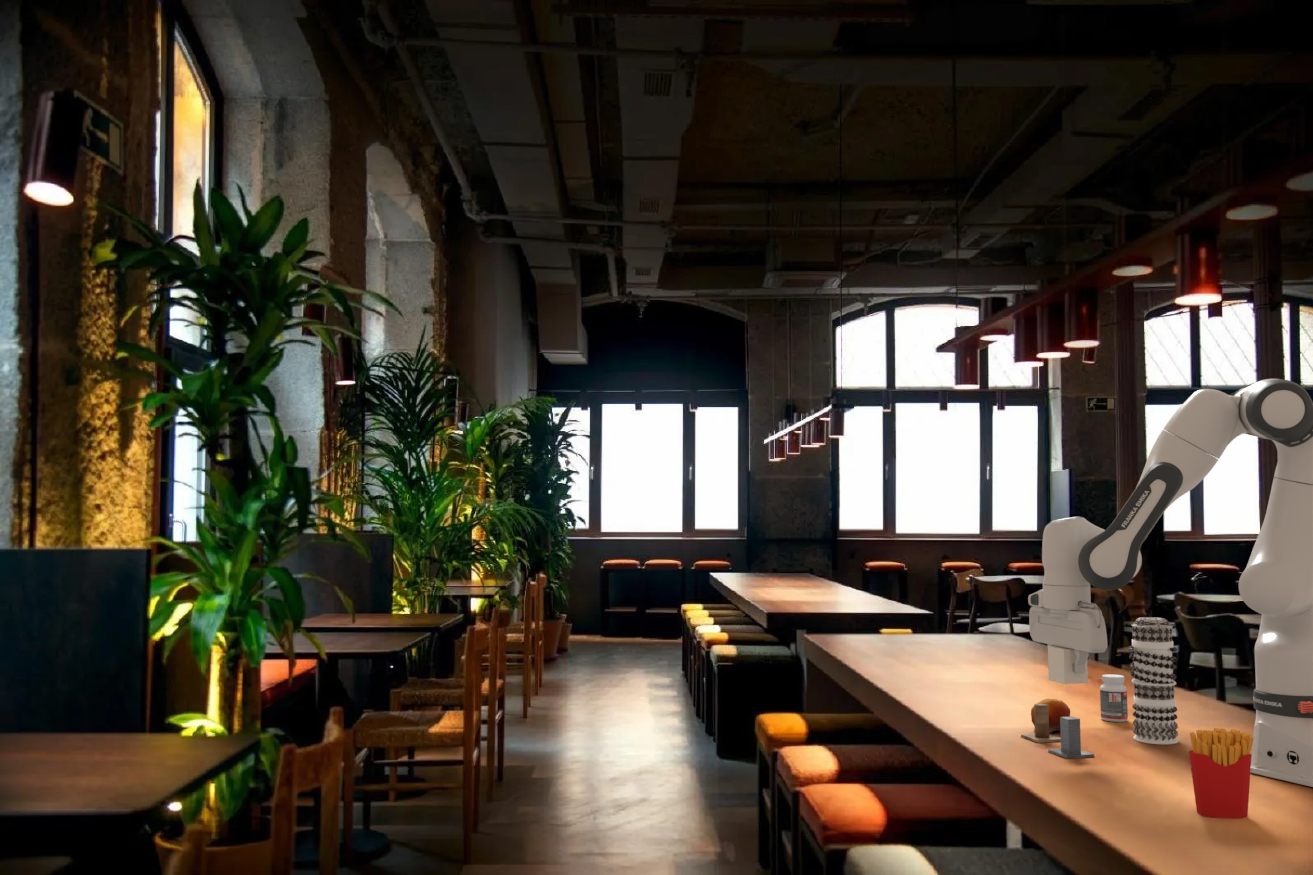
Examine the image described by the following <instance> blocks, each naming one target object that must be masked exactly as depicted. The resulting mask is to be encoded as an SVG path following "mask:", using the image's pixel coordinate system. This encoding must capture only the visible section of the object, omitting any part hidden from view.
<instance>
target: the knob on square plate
mask: <svg viewBox="0 0 1313 875" xmlns="http://www.w3.org/2000/svg"><path fill="white" fill-rule="evenodd" d="M1033 706H1034V719H1035V726H1034V733H1025V734H1024V733H1023V734H1021V735H1020V738H1022V737H1023V738H1022V739H1026V740H1029V741H1032V742H1034V743H1037V744H1040V743H1041V744H1042V743H1056V742H1060V743H1061V736H1060V737H1059V736H1056V735H1053V734H1051V733H1050V732H1049V711H1048V705H1046V704H1037V703H1034V704H1033Z"/></svg>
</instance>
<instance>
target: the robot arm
mask: <svg viewBox="0 0 1313 875" xmlns="http://www.w3.org/2000/svg"><path fill="white" fill-rule="evenodd" d="M1244 434H1246V435H1250V436H1253V437H1256V438H1259V439H1263V440H1271V441H1272V442H1273V443H1274V446H1275V448H1276V451H1277V463H1276V466H1275V470H1274V474H1273V480H1272V483H1271V489H1270V493H1269V499H1268V504H1267V508H1266V511H1265V512H1266V513H1265V515H1264V520H1263V522H1262V525H1261V527H1260V530H1259V533H1258V535H1257V537H1256V541H1255V543H1254V545H1253V547H1252V551H1251V554H1250V556H1249V559H1248V562H1247V564H1246V567H1245V569H1244V570H1243V571H1242V573H1241V574H1240V577H1239V580H1238V592H1239V595H1240V598H1241V599H1242V601H1243V603H1245V605H1246V606H1247V607H1248V608H1250V609H1251V610H1253V611H1254V612H1256V613H1258V614H1260V615H1261V617H1260V618H1261V619H1260V623H1259V624H1260V625H1259V630H1258V634H1257V639H1256V641H1255V644H1254V668H1255V669H1254V670H1255V675H1254V676H1255V688H1254V689H1253V696H1252V700H1253V708H1254V709H1255V712H1256V713H1255V720H1254V724H1253V731H1252V737H1253V738H1254V740H1253V743H1252V747H1251V752H1250V754H1252V756H1251V771H1250V774H1255V775H1260V776H1264V777H1268V778H1272V779H1277V780H1281V781H1286V782H1290V783H1294V784H1298V785H1302V786H1307V787H1312V788H1313V400H1312V398H1311V396H1310V395H1309V393H1308V392H1307V390H1305V388H1303V387H1302V386H1301V385H1300V384H1299V383H1296V382H1294V381H1292V380H1289V379H1282V378H1281V379H1280V378H1266V379H1261V380H1259V381H1257V382H1253V383H1252V382H1251V383H1249V384H1247V385H1246V386H1244V387H1242V388H1240V389H1238V390H1236V391H1234V392H1233V393H1230V394H1227V393H1226V392H1223V391H1221V390H1218V389H1212V388H1202V389H1198V390H1196V391H1194V392H1193V393H1192V394H1191V395H1190V396H1189V397H1187V399H1186V400H1185V401H1184V402H1183V403H1182V404H1181V405H1180V407H1178V409H1177V410H1176V411H1175V412H1174V413H1173V415H1172V416H1171V417H1170V418H1169V419H1168V421H1167V423H1166V424H1165V426H1164V427H1163V429H1162V430H1161V432H1160V433H1159V435H1158V437H1157V438H1156V439H1155V442H1154V444H1153V445H1152V448H1151V450H1150V452H1149V455H1148V457H1147V460H1146V463H1145V465H1144V467H1143V470H1142V473H1141V475H1140V478H1139V480H1138V482H1137V484H1136V487H1135V489H1134V490H1133V491H1132V493H1131V495H1130V496H1129V498H1128V499H1127V501H1126V502H1125V504H1124V505H1123V506H1122V508H1121V510H1120V511H1119V512H1118V514H1117V515H1116V517H1115V518H1114V519H1113V521H1112V523H1110V525H1109V526H1108V527H1107V528H1106V529H1104V528H1101V527H1100V526H1097V525H1095V524H1094V523H1091V522H1090V521H1089V520H1087V519H1086V518H1085V517H1083V516H1072V517H1070V516H1069V517H1065V518H1063V517H1062V518H1059V519H1054V520H1051V521H1049V522H1048V523H1047V525H1045V527H1044V530H1043V534H1042V543H1041V544H1042V547H1041V561H1042V567H1043V569H1044V570H1043V572H1044V573H1043V574H1044V575H1043V580H1042V589H1039V590H1037V591H1035V592H1033V593H1031V594H1029V595H1027V596H1028V597H1027V601H1028V605H1029V606H1030V608H1029V613H1028V614H1029V616H1028V618H1029V620H1028V624H1029V634H1030V637H1031V639H1032V641H1033V642H1037V643H1039V644H1041V643H1042V644H1046V645H1047V647H1048V646H1060V647H1065V648H1069V649H1074V650H1075V655H1076V656H1077V657H1076V661H1075V663H1073V664H1072V667H1073V669H1072V671H1073V672H1074V673H1078V674H1083V673H1085V663H1086V661H1087V660H1088V658H1089V656H1090V654H1101V653H1106V650H1108V634H1107V627H1106V621H1105V618H1104V616H1103V612H1102V610H1101V609H1100V607H1099V606H1098V605H1097V604H1096V602H1095V603H1094V602H1091V599H1092V598H1091V586H1093V587H1094V588H1097V589H1100V590H1103V591H1114V590H1118V589H1121V588H1123V587H1125V586H1126V585H1128V583H1130V582H1131V580H1132V579H1133V578H1134V577H1136V576H1137V574H1138V573H1139V572H1140V570H1141V568H1142V564H1143V556H1142V553H1141V552H1142V551H1141V547H1142V545H1143V543H1144V542H1145V540H1146V539H1147V538H1148V535H1149V534H1150V533H1151V532H1152V530H1153V529H1154V528H1155V526H1156V524H1157V523H1158V521H1159V519H1160V518H1161V517H1162V515H1163V514H1164V513H1165V511H1166V510H1168V508H1169V507H1170V506H1171V505H1172V504H1174V502H1175V501H1177V500H1178V499H1179V498H1181V497H1182V496H1184V495H1185V494H1187V493H1189V492H1190V491H1192V490H1193V489H1194V488H1196V486H1198V485H1199V484H1200V483H1201V482H1202V481H1203V480H1204V479H1205V478H1206V477H1207V476H1208V474H1209V473H1210V472H1211V471H1212V470H1213V468H1214V467H1215V465H1216V464H1217V463H1218V461H1219V459H1220V458H1221V457H1222V455H1223V453H1224V452H1225V450H1226V449H1227V447H1228V446H1229V445H1230V444H1231V443H1232V442H1233V440H1235V439H1236V438H1237V437H1239V436H1241V435H1244Z"/></svg>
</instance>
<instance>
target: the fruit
mask: <svg viewBox="0 0 1313 875" xmlns="http://www.w3.org/2000/svg"><path fill="white" fill-rule="evenodd" d="M1036 704H1046V705H1048V711H1049V733H1050V735H1053V732H1056V731H1058V732H1061V730H1060V717H1070V716H1071V708H1070V707H1069V705H1067V704H1066V703H1065V702H1064V701H1062V700H1059V699H1057V698H1045V699H1042V700H1041V701H1039V702H1037V703H1036ZM1030 717H1031V723H1032V724H1033V727H1035V719H1034V705H1033V706H1032V707H1031V709H1030Z"/></svg>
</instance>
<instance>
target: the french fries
mask: <svg viewBox="0 0 1313 875" xmlns="http://www.w3.org/2000/svg"><path fill="white" fill-rule="evenodd" d="M1189 736H1190V743H1191V747H1192V748H1191V750H1188V755H1189V764H1190V770H1191V778H1192V785H1193V786H1192V787H1193V792H1194V794H1193V795H1194V801H1195V807H1196V813H1197V814H1199V815H1200V816H1202V817H1208V818H1211V819H1212V818H1215V819H1216V818H1217V819H1245V818H1247V817H1248V814H1249V802H1250V801H1249V799H1250V798H1249V797H1250V785H1251V784H1250V783H1251V773H1250V771H1251V756H1252V754H1251V752H1252V743H1253V740H1254V738H1253V734H1249V733H1248V732H1241V731H1240V730H1236V729H1235V728H1231V729H1230V730H1229V731H1227V729H1226V728H1217V727H1214V728H1213V730H1206V729H1205V730H1203V729H1197V730H1196V734H1195V732H1194V731H1192V732H1189Z"/></svg>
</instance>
